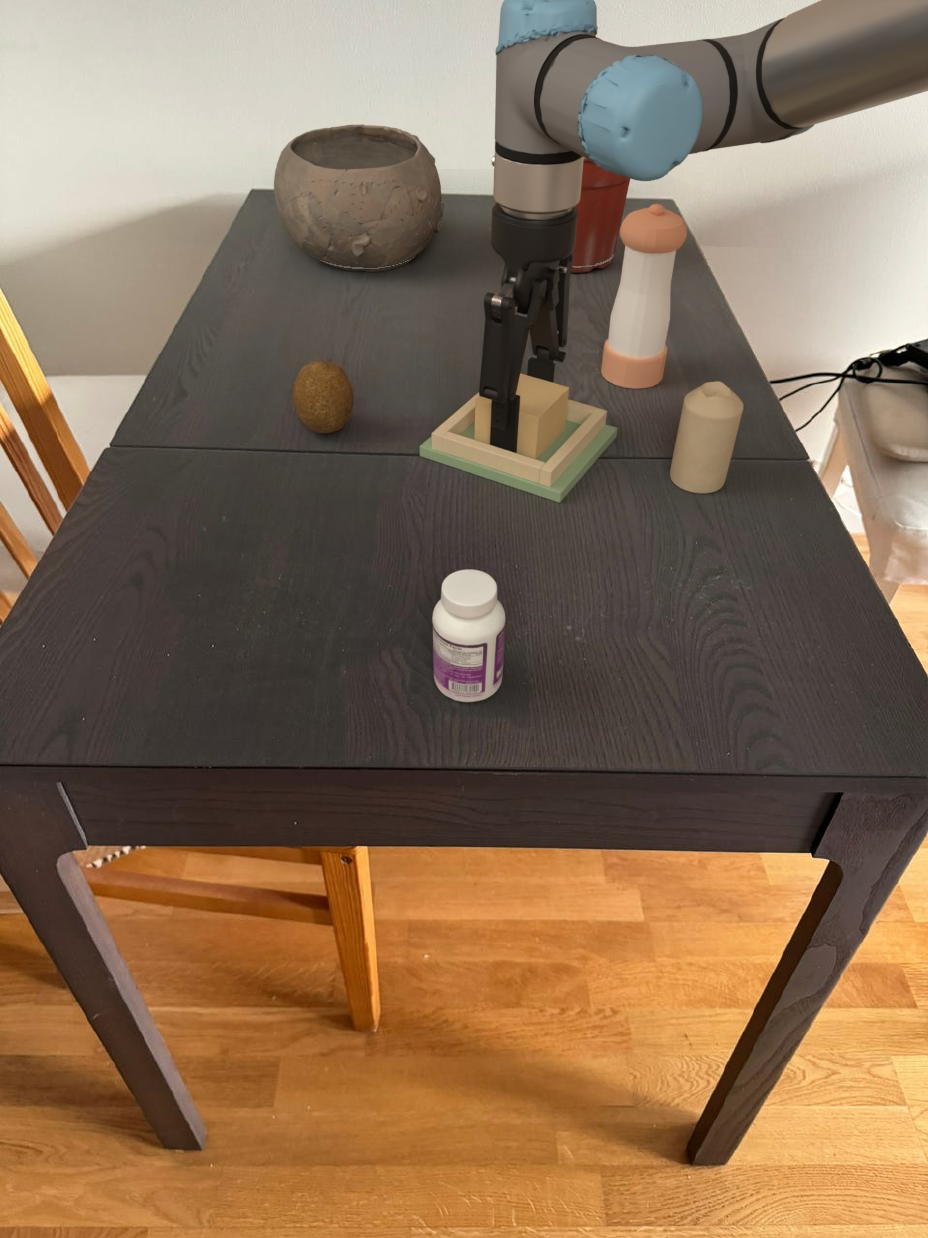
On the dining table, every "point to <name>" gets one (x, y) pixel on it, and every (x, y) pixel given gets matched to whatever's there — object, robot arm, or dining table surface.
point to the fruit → (323, 397)
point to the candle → (706, 438)
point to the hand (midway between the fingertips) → (520, 434)
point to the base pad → (538, 476)
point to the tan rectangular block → (530, 415)
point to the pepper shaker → (643, 298)
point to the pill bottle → (468, 637)
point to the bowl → (359, 195)
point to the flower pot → (598, 216)
